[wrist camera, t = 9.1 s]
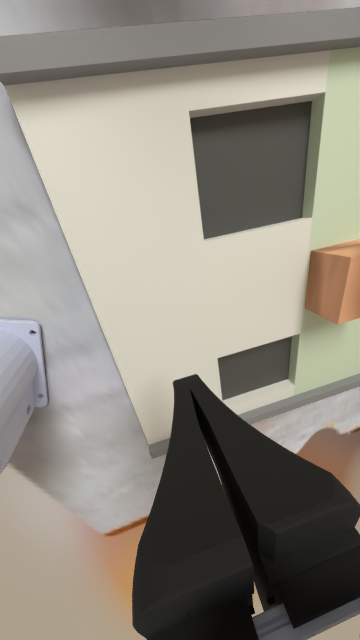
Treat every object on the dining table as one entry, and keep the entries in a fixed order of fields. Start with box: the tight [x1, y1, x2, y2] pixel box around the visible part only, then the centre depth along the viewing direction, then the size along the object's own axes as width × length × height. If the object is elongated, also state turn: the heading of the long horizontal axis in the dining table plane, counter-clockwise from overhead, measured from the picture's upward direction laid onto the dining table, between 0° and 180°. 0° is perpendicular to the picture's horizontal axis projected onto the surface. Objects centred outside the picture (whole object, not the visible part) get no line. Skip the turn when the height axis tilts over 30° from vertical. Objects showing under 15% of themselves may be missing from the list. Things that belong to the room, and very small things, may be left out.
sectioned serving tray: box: [0, 7, 360, 458], centre depth 21 cm, size 35×34×2 cm
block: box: [305, 239, 360, 325], centre depth 20 cm, size 6×6×4 cm
